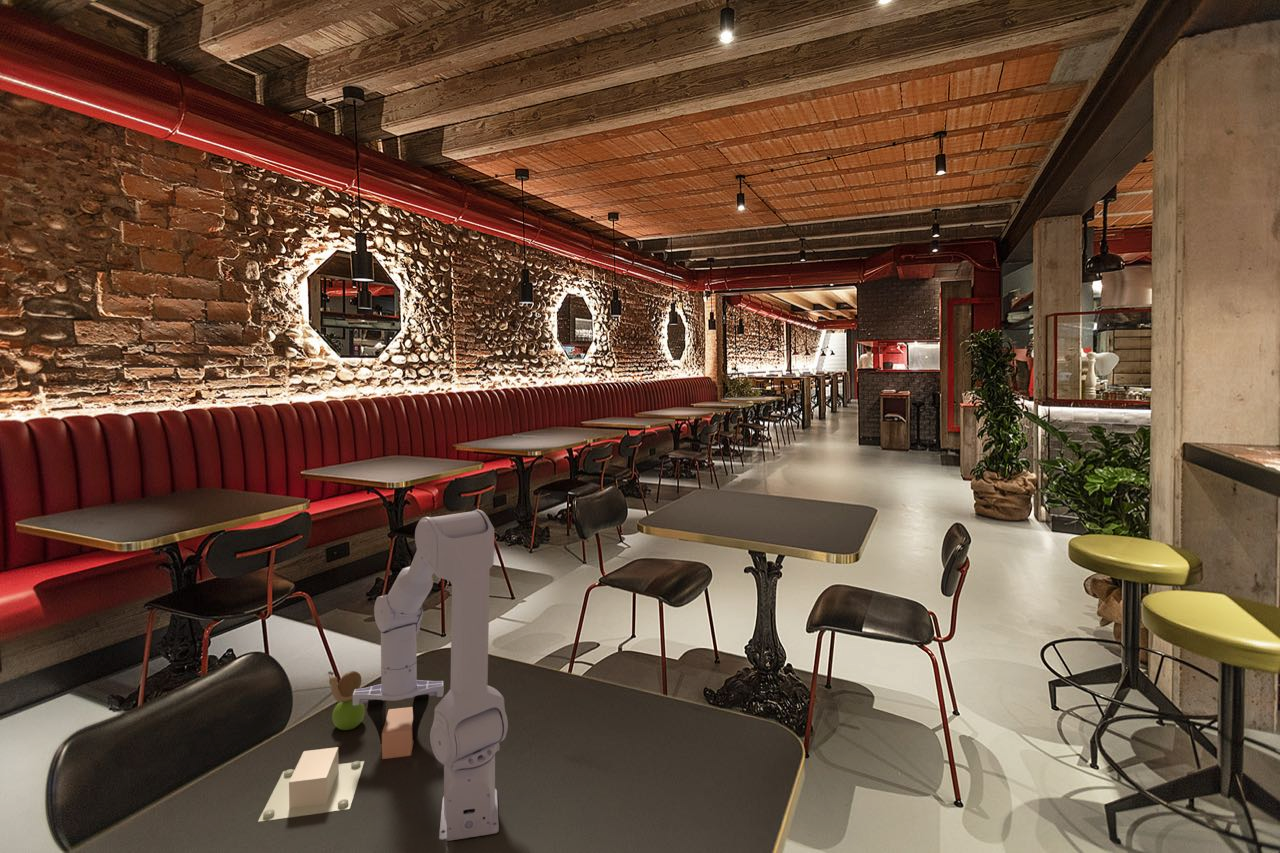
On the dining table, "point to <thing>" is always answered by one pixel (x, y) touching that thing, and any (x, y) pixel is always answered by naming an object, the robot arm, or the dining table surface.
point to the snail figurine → (346, 701)
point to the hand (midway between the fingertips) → (399, 739)
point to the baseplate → (336, 802)
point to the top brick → (398, 733)
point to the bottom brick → (313, 778)
